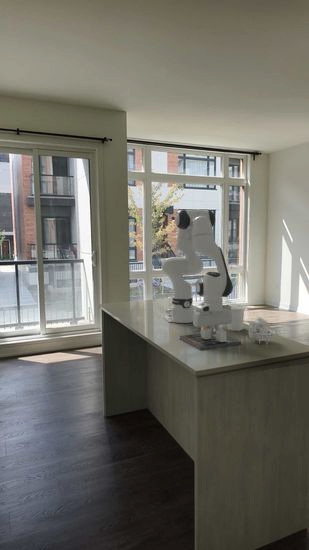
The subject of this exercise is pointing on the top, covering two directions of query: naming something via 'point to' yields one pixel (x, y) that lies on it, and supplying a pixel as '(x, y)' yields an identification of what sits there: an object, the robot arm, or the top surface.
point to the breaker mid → (205, 333)
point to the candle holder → (236, 318)
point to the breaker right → (221, 335)
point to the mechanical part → (260, 330)
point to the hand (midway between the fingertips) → (212, 334)
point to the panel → (208, 341)
